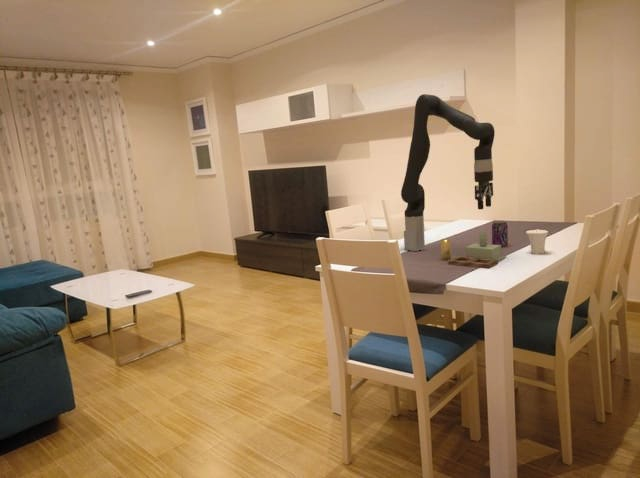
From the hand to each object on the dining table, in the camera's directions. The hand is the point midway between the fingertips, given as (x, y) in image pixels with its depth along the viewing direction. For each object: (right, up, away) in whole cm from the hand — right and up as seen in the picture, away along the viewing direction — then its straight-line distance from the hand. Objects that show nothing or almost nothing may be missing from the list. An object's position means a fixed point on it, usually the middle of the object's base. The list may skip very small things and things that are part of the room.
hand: (484, 207), depth 200 cm
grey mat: (+1, -22, +3) cm, 22 cm away
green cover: (+1, -22, +3) cm, 22 cm away
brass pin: (-15, -23, +7) cm, 28 cm away
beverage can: (+17, -17, +25) cm, 35 cm away
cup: (+26, -20, +6) cm, 33 cm away
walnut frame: (-7, -24, -5) cm, 25 cm away
